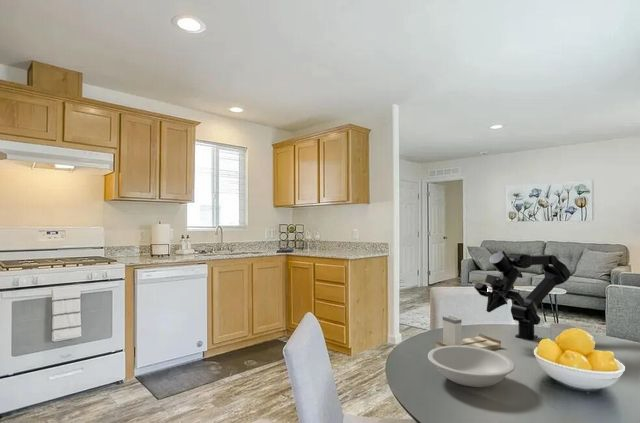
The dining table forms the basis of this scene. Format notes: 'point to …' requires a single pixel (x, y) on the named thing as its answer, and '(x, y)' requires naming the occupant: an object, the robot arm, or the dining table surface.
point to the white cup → (558, 329)
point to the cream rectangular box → (451, 331)
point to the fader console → (477, 342)
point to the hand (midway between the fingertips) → (487, 311)
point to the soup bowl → (471, 365)
